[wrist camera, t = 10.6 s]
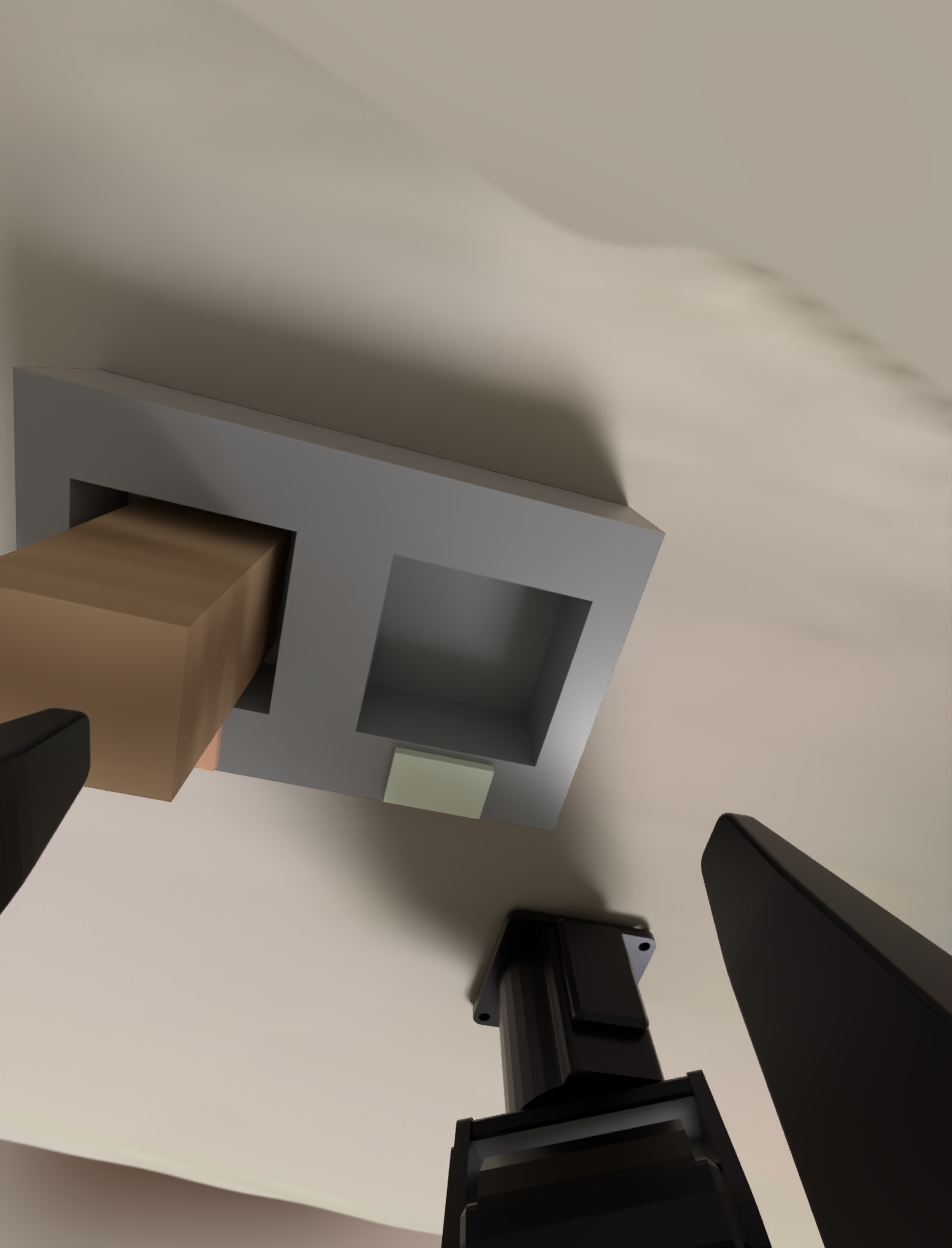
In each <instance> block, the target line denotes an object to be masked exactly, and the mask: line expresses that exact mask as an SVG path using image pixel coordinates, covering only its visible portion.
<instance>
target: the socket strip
mask: <svg viewBox="0 0 952 1248" xmlns="http://www.w3.org/2000/svg"><path fill="white" fill-rule="evenodd" d="M13 375H14V428H15V482H16V536H17V550H18V549H21V548H23V547H26V546H28V545H31V544H33V543H36V542H38V541H41V540H43V539H46V538H48V537H50V536H53V535H55V534H58V533H60V532H63V531H65V530H68V529H70V528H73V527H75V526H78V525H80V524H83V523H85V522H88V521H90V520H93V519H95V518H98V517H100V516H103V515H105V514H108V513H110V512H113V511H115V510H118V509H120V508H122V507H125V506H127V505H130V504H132V503H135V502H137V501H140V500H142V499H145V498H147V497H152V498H156V499H160V500H164V501H169V502H173V503H177V504H181V505H186V506H190V507H194V508H198V509H203V510H207V511H211V512H215V513H220V514H224V515H228V516H232V517H237V518H241V519H245V520H249V521H254V522H258V523H262V524H266V525H271V526H275V527H279V528H283V529H288V530H292V538H291V544H290V550H289V557H288V563H287V570H286V576H285V582H284V589H283V595H282V601H281V608H280V614H279V621H278V627H277V633H276V640H275V644H274V646H273V647H272V649H271V650H270V652H269V654H268V655H267V657H266V658H265V660H264V661H263V663H262V664H261V666H260V667H259V669H258V670H257V672H256V673H255V675H254V676H253V678H252V680H251V681H250V683H249V684H248V686H247V687H246V689H245V690H244V692H243V693H242V695H241V696H240V698H239V699H238V701H237V702H236V704H235V705H234V707H233V709H232V710H231V712H230V713H229V715H228V716H227V718H226V719H225V721H224V722H223V724H222V725H221V727H220V728H219V730H218V731H217V733H216V734H215V736H214V738H213V739H212V741H211V742H210V744H209V745H208V747H207V748H206V750H205V751H204V753H203V754H202V756H201V757H200V759H199V760H198V762H197V763H196V765H195V768H200V769H206V770H211V771H214V770H217V771H223V772H228V773H234V774H239V775H244V776H250V777H255V778H261V779H266V780H272V781H277V782H283V783H288V784H294V785H299V786H305V787H310V788H316V789H321V790H327V791H332V792H338V793H343V794H348V795H354V796H359V797H365V798H370V799H376V800H381V801H383V802H386V803H392V804H397V805H403V806H408V807H414V808H419V809H425V810H430V811H436V812H441V813H447V814H452V815H458V816H463V817H469V818H474V819H479V818H480V819H485V820H491V821H496V822H502V823H507V824H513V825H518V826H524V827H529V828H535V829H540V830H546V831H551V832H553V830H554V827H555V825H556V822H557V819H558V817H559V814H560V811H561V809H562V806H563V804H564V801H565V798H566V796H567V793H568V790H569V788H570V785H571V782H572V780H573V777H574V774H575V772H576V769H577V766H578V764H579V761H580V758H581V756H582V753H583V751H584V748H585V745H586V743H587V740H588V737H589V735H590V732H591V729H592V727H593V724H594V721H595V719H596V716H597V713H598V711H599V708H600V705H601V703H602V700H603V698H604V695H605V692H606V690H607V687H608V684H609V682H610V679H611V676H612V674H613V671H614V668H615V666H616V663H617V660H618V658H619V655H620V652H621V650H622V647H623V645H624V642H625V639H626V637H627V634H628V631H629V629H630V626H631V623H632V621H633V618H634V615H635V613H636V610H637V607H638V605H639V602H640V599H641V597H642V594H643V592H644V589H645V586H646V584H647V581H648V578H649V576H650V573H651V570H652V568H653V565H654V562H655V560H656V557H657V554H658V552H659V549H660V546H661V544H662V541H663V538H664V536H665V533H664V532H663V531H662V530H660V529H659V528H658V527H656V526H655V525H653V524H652V523H651V522H649V521H648V520H647V519H645V518H644V517H643V516H641V515H640V514H638V513H637V512H636V511H634V510H633V509H632V508H630V507H628V506H625V505H621V504H617V503H613V502H609V501H605V500H601V499H598V498H594V497H590V496H586V495H582V494H578V493H574V492H570V491H567V490H563V489H559V488H555V487H551V486H547V485H543V484H540V483H536V482H532V481H528V480H524V479H520V478H516V477H513V476H509V475H505V474H501V473H497V472H493V471H489V470H485V469H482V468H478V467H474V466H470V465H466V464H462V463H458V462H455V461H451V460H447V459H443V458H439V457H435V456H431V455H427V454H424V453H420V452H416V451H412V450H408V449H404V448H400V447H397V446H393V445H389V444H385V443H381V442H377V441H373V440H369V439H366V438H362V437H358V436H354V435H350V434H346V433H342V432H339V431H335V430H331V429H327V428H323V427H319V426H315V425H311V424H308V423H304V422H300V421H296V420H292V419H288V418H284V417H281V416H277V415H273V414H269V413H265V412H261V411H257V410H254V409H250V408H246V407H242V406H238V405H234V404H230V403H226V402H223V401H219V400H215V399H211V398H207V397H203V396H199V395H196V394H192V393H188V392H184V391H180V390H176V389H172V388H168V387H165V386H161V385H157V384H153V383H149V382H145V381H141V380H138V379H134V378H130V377H126V376H122V375H118V374H114V373H110V372H107V371H103V370H99V369H83V368H29V367H13Z"/></svg>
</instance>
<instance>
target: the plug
mask: <svg viewBox="0 0 952 1248" xmlns="http://www.w3.org/2000/svg"><path fill="white" fill-rule="evenodd" d="M291 538H292V530H288V529H283V528H279V527H275V526H271V525H266V524H262V523H258V522H254V521H249V520H245V519H241V518H237V517H232V516H228V515H224V514H220V513H215V512H211V511H207V510H203V509H198V508H194V507H190V506H186V505H181V504H177V503H173V502H169V501H164V500H160V499H156V498H152V497H147V498H145V499H142V500H140V501H137V502H135V503H132V504H130V505H127V506H125V507H122V508H120V509H118V510H115V511H113V512H110V513H108V514H105V515H103V516H100V517H98V518H95V519H93V520H90V521H88V522H85V523H83V524H80V525H78V526H75V527H73V528H70V529H68V530H65V531H63V532H60V533H58V534H55V535H53V536H50V537H48V538H46V539H43V540H41V541H38V542H36V543H33V544H31V545H28V546H26V547H23V548H21V549H18V550H16V551H13V552H11V553H8V554H6V555H3V556H1V557H0V723H3V722H7V721H10V720H13V719H16V718H20V717H23V716H26V715H29V714H32V713H36V712H39V711H42V710H45V709H49V708H62V709H68V710H75V711H81V712H84V713H85V714H86V715H87V716H88V718H89V721H90V753H91V765H90V771H89V775H88V777H87V780H86V782H85V784H84V787H90V788H95V789H101V790H106V791H112V792H118V793H123V794H129V795H134V796H140V797H145V798H151V799H156V800H162V801H168V802H172V800H173V799H174V797H175V796H176V794H177V792H178V791H179V789H180V788H181V786H182V785H183V783H184V782H185V780H186V779H187V777H188V776H189V774H190V773H191V771H192V770H193V768H194V767H195V765H196V763H197V762H198V760H199V759H200V757H201V756H202V754H203V753H204V751H205V750H206V748H207V747H208V745H209V744H210V742H211V741H212V739H213V738H214V736H215V734H216V733H217V731H218V730H219V728H220V727H221V725H222V724H223V722H224V721H225V719H226V718H227V716H228V715H229V713H230V712H231V710H232V709H233V707H234V705H235V704H236V702H237V701H238V699H239V698H240V696H241V695H242V693H243V692H244V690H245V689H246V687H247V686H248V684H249V683H250V681H251V680H252V678H253V676H254V675H255V673H256V672H257V670H258V669H259V667H260V666H261V664H262V663H263V661H264V660H265V658H266V657H267V655H268V654H269V652H270V650H271V649H272V647H273V646H274V644H275V640H276V633H277V627H278V621H279V614H280V608H281V601H282V595H283V589H284V582H285V576H286V570H287V563H288V557H289V550H290V544H291Z"/></svg>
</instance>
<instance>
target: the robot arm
mask: <svg viewBox="0 0 952 1248" xmlns="http://www.w3.org/2000/svg"><path fill="white" fill-rule="evenodd" d="M90 765H91V753H90V721H89V718H88V716H87V715H86V714H85V713H84V712H81V711H75V710H68V709H62V708H49V709H45V710H42V711H39V712H36V713H32V714H29V715H26V716H23V717H20V718H16V719H13V720H10V721H7V722H3V723H0V915H1V913H2V912H3V911H4V909H5V908H6V907H7V905H8V904H9V903H10V901H11V900H12V899H13V897H14V896H15V894H16V893H17V892H18V890H19V889H20V888H21V886H22V885H23V883H24V882H25V880H26V879H27V877H28V876H29V874H30V873H31V871H32V869H33V868H34V866H35V865H36V863H37V861H38V860H39V858H40V856H41V855H42V853H43V851H44V850H45V848H46V847H47V845H48V843H49V842H50V840H51V838H52V837H53V835H54V833H55V832H56V830H57V828H58V827H59V825H60V823H61V822H62V820H63V818H64V817H65V815H66V814H67V812H68V810H69V809H70V807H71V805H72V804H73V802H74V800H75V799H76V797H77V795H78V794H79V792H80V790H81V789H82V787H83V786H84V784H85V782H86V780H87V777H88V775H89V771H90ZM701 870H702V875H703V879H704V883H705V887H706V891H707V895H708V899H709V903H710V907H711V911H712V915H713V919H714V923H715V927H716V931H717V935H718V939H719V943H720V947H721V951H722V955H723V959H724V962H725V966H726V969H727V973H728V976H729V979H730V982H731V985H732V988H733V991H734V994H735V996H736V999H737V1002H738V1005H739V1008H740V1011H741V1013H742V1016H743V1019H744V1022H745V1025H746V1027H747V1030H748V1033H749V1036H750V1039H751V1041H752V1044H753V1047H754V1050H755V1053H756V1055H757V1058H758V1061H759V1064H760V1067H761V1070H762V1072H763V1075H764V1078H765V1081H766V1084H767V1086H768V1089H769V1092H770V1095H771V1098H772V1100H773V1103H774V1106H775V1109H776V1112H777V1115H778V1117H779V1120H780V1123H781V1126H782V1129H783V1131H784V1134H785V1137H786V1140H787V1143H788V1145H789V1148H790V1151H791V1154H792V1157H793V1159H794V1162H795V1165H796V1168H797V1171H798V1174H799V1176H800V1179H801V1182H802V1185H803V1188H804V1190H805V1193H806V1196H807V1199H808V1202H809V1204H810V1207H811V1210H812V1213H813V1216H814V1218H815V1221H816V1224H817V1227H818V1230H819V1233H820V1235H821V1238H822V1241H823V1244H824V1247H825V1248H952V956H951V955H950V954H948V953H947V952H946V951H944V950H943V949H941V948H940V947H938V946H937V945H935V944H934V943H933V942H931V941H930V940H928V939H927V938H925V937H924V936H923V935H921V934H920V933H918V932H917V931H915V930H914V929H912V928H911V927H910V926H908V925H907V924H905V923H904V922H902V921H901V920H900V919H898V918H897V917H895V916H894V915H892V914H891V913H890V912H888V911H887V910H885V909H884V908H882V907H881V906H879V905H878V904H877V903H875V902H874V901H872V900H871V899H869V898H868V897H867V896H865V895H864V894H862V893H861V892H859V891H858V890H857V889H855V888H854V887H852V886H851V885H849V884H848V883H846V882H845V881H844V880H842V879H841V878H839V877H838V876H836V875H835V874H834V873H832V872H831V871H829V870H828V869H826V868H825V867H823V866H822V865H821V864H819V863H818V862H816V861H815V860H813V859H812V858H811V857H809V856H808V855H806V854H805V853H803V852H802V851H801V850H799V849H798V848H796V847H795V846H793V845H792V844H790V843H789V842H788V841H786V840H785V839H783V838H782V837H780V836H779V835H778V834H776V833H775V832H773V831H772V830H770V829H769V828H768V827H766V826H765V825H763V824H762V823H760V822H759V821H757V820H756V819H755V818H753V817H750V816H747V815H740V814H734V813H725V814H722V815H721V816H720V817H719V819H718V820H717V822H716V825H715V827H714V829H713V832H712V834H711V836H710V839H709V841H708V843H707V845H706V848H705V850H704V852H703V855H702V860H701ZM516 922H520V923H516ZM643 942H644V943H643ZM655 948H656V943H655V940H654V937H653V935H652V933H651V932H650V931H647V930H642V929H636V928H630V927H624V926H617V925H611V924H605V923H599V922H593V921H587V920H581V919H575V918H569V917H563V916H557V915H551V914H544V913H538V912H532V911H526V910H513V911H511V912H510V913H508V915H507V916H506V918H505V921H504V924H503V927H502V929H501V932H500V935H499V937H498V940H497V943H496V946H495V948H494V951H493V954H492V957H491V959H490V962H489V965H488V968H487V970H486V973H485V976H484V979H483V981H482V984H481V987H480V989H479V992H478V995H477V998H476V1000H475V1003H474V1006H473V1019H474V1021H475V1022H476V1023H477V1024H481V1025H487V1026H494V1027H499V1029H500V1042H501V1056H502V1069H503V1083H504V1096H505V1110H506V1114H501V1115H496V1116H491V1117H487V1118H482V1119H477V1120H473V1118H472V1117H471V1118H466V1119H461V1120H457V1123H456V1132H455V1143H454V1147H452V1148H451V1156H450V1166H449V1176H448V1186H447V1196H446V1206H445V1215H444V1225H443V1235H442V1245H441V1248H772V1247H771V1244H770V1241H769V1238H768V1235H767V1232H766V1229H765V1226H764V1224H763V1221H762V1218H761V1215H760V1213H759V1210H758V1207H757V1204H756V1202H755V1199H754V1197H753V1194H752V1191H751V1189H750V1186H749V1184H748V1181H747V1179H746V1176H745V1174H744V1172H743V1169H742V1167H741V1164H740V1162H739V1159H738V1157H737V1154H736V1152H735V1150H734V1147H733V1145H732V1142H731V1140H730V1137H729V1135H728V1132H727V1130H726V1128H725V1125H724V1123H723V1120H722V1118H721V1115H720V1113H719V1110H718V1108H717V1106H716V1103H715V1101H714V1098H713V1096H712V1093H711V1091H710V1088H709V1086H708V1084H707V1081H706V1079H705V1076H704V1074H703V1071H702V1070H697V1071H692V1072H687V1073H686V1074H687V1076H684V1077H679V1078H674V1079H670V1080H664V1077H663V1073H662V1070H661V1067H660V1063H659V1060H658V1057H657V1053H656V1050H655V1047H654V1044H653V1040H652V1037H651V1034H650V1030H649V1027H648V1026H649V1020H648V1017H647V1014H646V1011H645V1007H644V1004H643V1001H642V998H641V994H640V991H639V988H638V983H639V981H640V979H641V977H642V975H643V973H644V971H645V969H646V967H647V965H648V963H649V961H650V959H651V957H652V954H653V952H654V950H655Z"/></svg>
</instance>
